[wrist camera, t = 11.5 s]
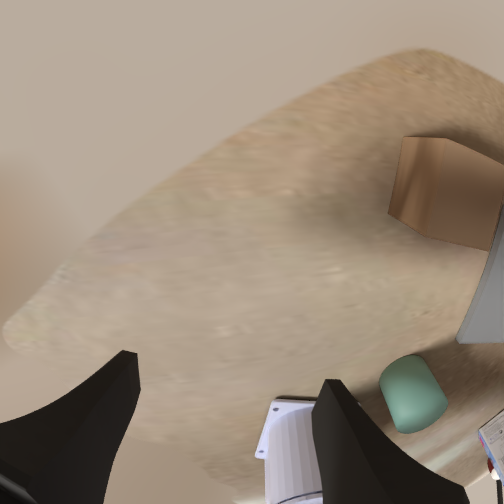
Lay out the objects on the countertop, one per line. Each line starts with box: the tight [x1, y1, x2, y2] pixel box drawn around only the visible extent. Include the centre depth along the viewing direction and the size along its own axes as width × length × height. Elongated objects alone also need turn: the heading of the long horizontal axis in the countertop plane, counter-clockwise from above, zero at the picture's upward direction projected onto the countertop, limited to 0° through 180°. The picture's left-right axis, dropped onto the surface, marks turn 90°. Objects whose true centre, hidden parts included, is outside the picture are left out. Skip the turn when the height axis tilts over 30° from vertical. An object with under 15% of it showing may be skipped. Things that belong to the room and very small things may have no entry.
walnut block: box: [388, 137, 504, 251], centre depth 15 cm, size 5×5×5 cm
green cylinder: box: [379, 355, 448, 434], centre depth 20 cm, size 4×4×5 cm
